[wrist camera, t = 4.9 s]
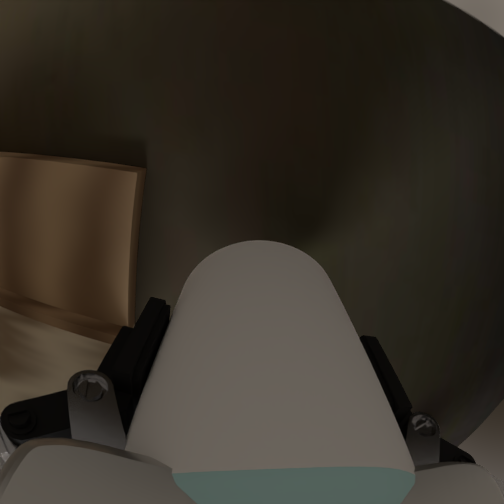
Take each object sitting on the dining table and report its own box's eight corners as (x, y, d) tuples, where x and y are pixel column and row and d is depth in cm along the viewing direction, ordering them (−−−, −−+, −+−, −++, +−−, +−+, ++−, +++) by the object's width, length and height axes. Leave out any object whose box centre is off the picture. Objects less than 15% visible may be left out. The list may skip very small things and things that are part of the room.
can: (213, 209, 13) (76, 542, 1) (359, 270, 14) (504, 514, 2) (166, 336, 15) (94, 567, 4) (291, 377, 16) (317, 591, 5)
